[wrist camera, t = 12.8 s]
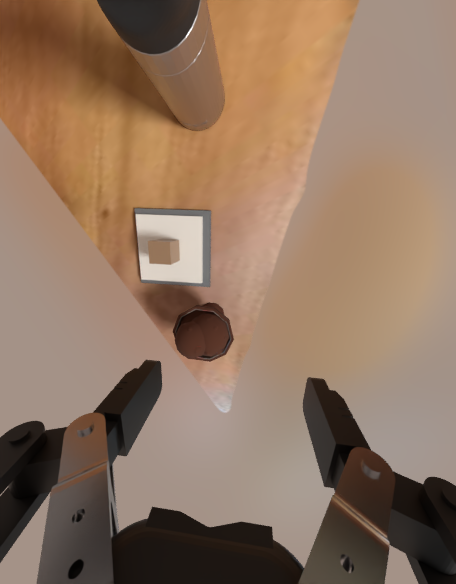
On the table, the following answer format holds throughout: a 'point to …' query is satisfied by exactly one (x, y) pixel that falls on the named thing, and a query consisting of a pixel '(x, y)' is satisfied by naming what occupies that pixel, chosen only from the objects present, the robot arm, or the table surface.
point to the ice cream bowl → (203, 333)
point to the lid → (170, 247)
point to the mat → (206, 241)
